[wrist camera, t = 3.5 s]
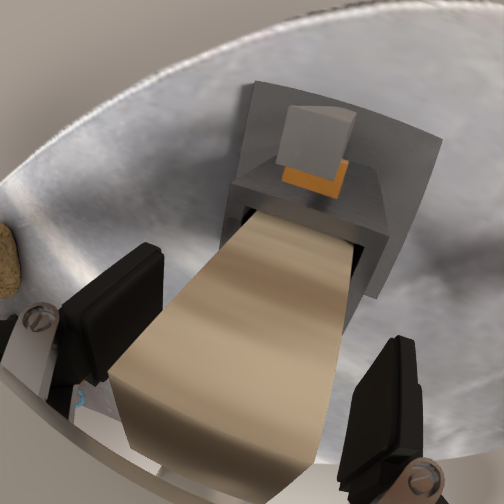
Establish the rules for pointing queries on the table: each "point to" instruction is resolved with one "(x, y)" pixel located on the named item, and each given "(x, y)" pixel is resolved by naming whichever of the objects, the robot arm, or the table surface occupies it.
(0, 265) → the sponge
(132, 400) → the post
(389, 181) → the grey socket stand
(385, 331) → the table surface
